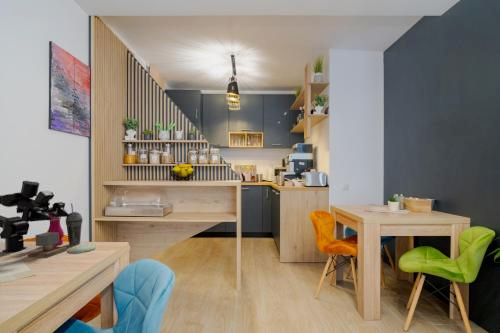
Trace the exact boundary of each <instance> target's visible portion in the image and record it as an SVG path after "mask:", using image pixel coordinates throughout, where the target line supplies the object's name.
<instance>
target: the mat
mask: <svg viewBox="0 0 500 333" xmlns="http://www.w3.org/2000/svg"><path fill="white" fill-rule="evenodd" d="M96 248H97V247H96V245H91V244H90V245H89V244H87V245H86V244H85V245H79V246H74V247H70V248H69V249H67V253H69V254H83V253H82V252H84V253H89V252H91V251H94V250H95V249H96Z"/></svg>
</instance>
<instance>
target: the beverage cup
mask: <svg viewBox="0 0 500 333" xmlns="http://www.w3.org/2000/svg"><path fill="white" fill-rule="evenodd" d="M70 206H71V207H70V208H71V212H70V213H68V214H69V216H68V217H65V225H66V231H67V239H68V240H67V242H68V245H69V246H77V245H80V244H81V234H82V224H83V216H82V214H81V213H79V212H77V211H74V209H73V208H74V207H73V203H70Z"/></svg>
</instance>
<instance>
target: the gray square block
mask: <svg viewBox="0 0 500 333" xmlns="http://www.w3.org/2000/svg"><path fill="white" fill-rule="evenodd" d="M57 243H59V233H58V232H47V231H46V232H42V233H40V234H35V247H36V246H37V247H43V246H50V245H53V244H57Z"/></svg>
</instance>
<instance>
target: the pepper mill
mask: <svg viewBox="0 0 500 333" xmlns="http://www.w3.org/2000/svg"><path fill="white" fill-rule="evenodd" d="M50 208H53V204H52V206H51V207H50ZM47 215H48V216H50V217H51V220H49V226H48V229H47V231H46V232H58V233H59V243H57V244H53V247H59V246H61V245H64V244H63V243H64V240H63V237H64V236H65V232H64V230H63V228H62V227H61V226H62V225H61V219H62V217H56V216H52V214H47Z"/></svg>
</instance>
